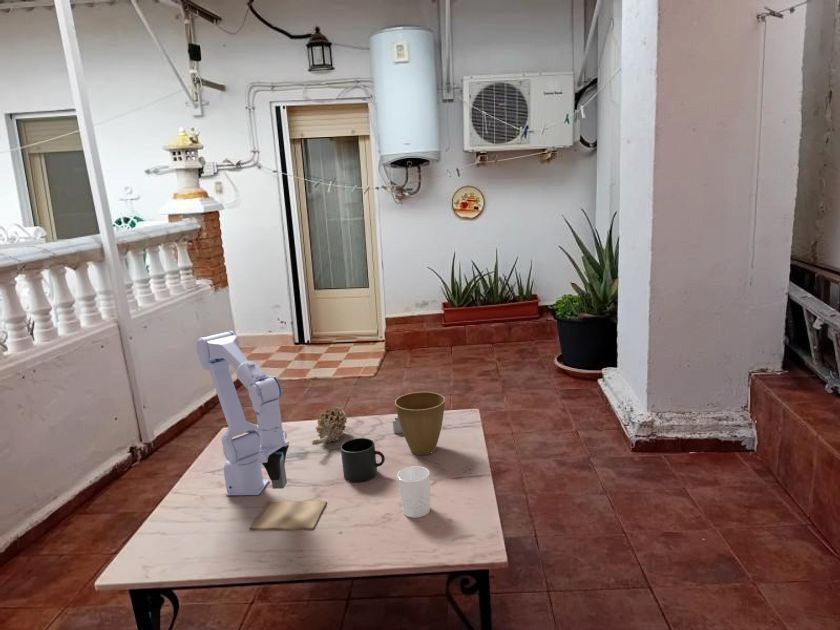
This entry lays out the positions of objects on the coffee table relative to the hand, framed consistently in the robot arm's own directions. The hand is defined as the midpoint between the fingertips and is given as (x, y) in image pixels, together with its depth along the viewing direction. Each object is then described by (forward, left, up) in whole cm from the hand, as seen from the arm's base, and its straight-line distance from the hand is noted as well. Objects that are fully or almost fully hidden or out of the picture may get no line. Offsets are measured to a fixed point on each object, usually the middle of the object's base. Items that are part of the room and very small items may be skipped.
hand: (277, 476), depth 151 cm
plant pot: (+33, +33, -10) cm, 48 cm away
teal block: (0, 0, -3) cm, 3 cm away
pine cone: (+2, +39, -10) cm, 40 cm away
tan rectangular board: (+3, -3, -9) cm, 10 cm away
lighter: (+25, +47, -10) cm, 54 cm away
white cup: (+35, -1, -10) cm, 36 cm away
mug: (+18, +18, -10) cm, 27 cm away
